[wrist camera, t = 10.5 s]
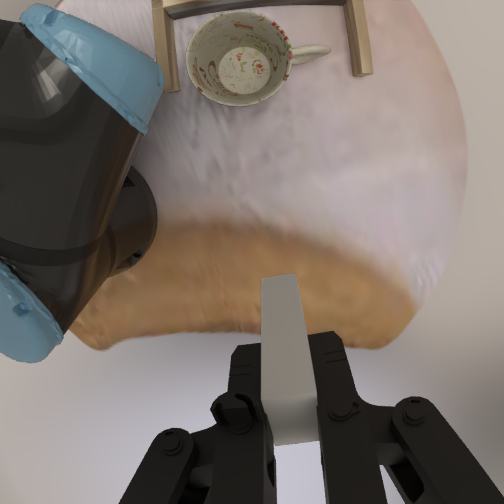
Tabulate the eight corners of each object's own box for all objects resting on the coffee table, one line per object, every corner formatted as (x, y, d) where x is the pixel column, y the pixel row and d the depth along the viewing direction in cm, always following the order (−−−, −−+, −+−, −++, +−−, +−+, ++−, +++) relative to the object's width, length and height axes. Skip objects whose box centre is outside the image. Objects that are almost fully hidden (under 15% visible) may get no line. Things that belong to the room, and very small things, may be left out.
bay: (169, 92, 31) (160, 91, 28) (161, 7, 26) (151, -2, 23) (363, 76, 30) (373, 73, 26) (350, -9, 25) (359, -19, 22)
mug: (197, 48, 29) (173, 28, 20) (309, 21, 27) (327, -8, 18) (217, 116, 32) (201, 119, 23) (329, 89, 31) (355, 83, 22)
